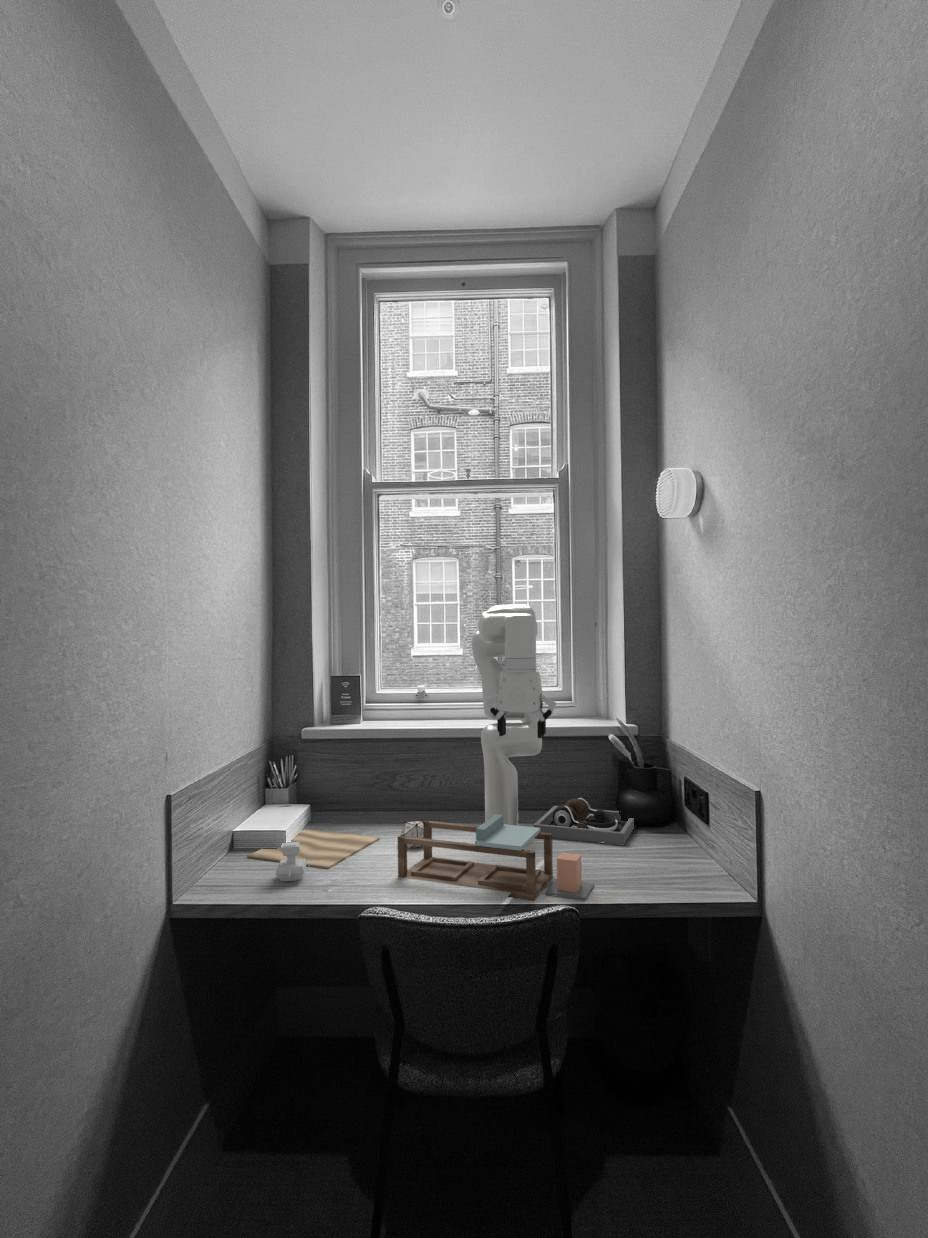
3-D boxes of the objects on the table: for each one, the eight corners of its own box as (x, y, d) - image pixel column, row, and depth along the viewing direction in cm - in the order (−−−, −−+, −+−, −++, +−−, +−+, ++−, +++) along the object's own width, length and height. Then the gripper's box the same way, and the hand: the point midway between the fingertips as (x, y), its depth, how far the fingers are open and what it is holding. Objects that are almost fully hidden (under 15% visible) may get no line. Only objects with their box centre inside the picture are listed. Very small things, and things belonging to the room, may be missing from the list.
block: (562, 883, 166) (561, 852, 166) (581, 885, 164) (581, 854, 164) (557, 889, 162) (556, 858, 162) (576, 892, 160) (576, 861, 160)
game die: (407, 864, 193) (385, 833, 195) (428, 846, 199) (407, 816, 200) (422, 855, 187) (399, 823, 188) (443, 836, 193) (421, 806, 194)
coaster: (555, 881, 169) (555, 878, 169) (594, 886, 166) (594, 883, 166) (545, 894, 161) (545, 892, 161) (585, 900, 157) (585, 897, 157)
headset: (572, 792, 223) (635, 809, 213) (569, 816, 224) (631, 834, 214) (549, 804, 208) (616, 823, 198) (546, 830, 209) (612, 851, 199)
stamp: (303, 885, 169) (303, 849, 169) (274, 886, 168) (274, 850, 168) (307, 872, 178) (307, 837, 178) (280, 873, 177) (279, 839, 177)
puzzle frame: (426, 861, 184) (426, 820, 184) (552, 877, 172) (552, 833, 172) (398, 881, 170) (397, 837, 170) (533, 901, 157) (533, 853, 157)
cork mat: (305, 830, 213) (305, 829, 213) (379, 839, 203) (379, 837, 203) (247, 857, 189) (247, 855, 189) (328, 869, 179) (328, 867, 179)
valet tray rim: (554, 816, 225) (554, 805, 225) (637, 823, 216) (636, 813, 216) (533, 836, 205) (533, 824, 205) (623, 845, 195) (623, 833, 195)
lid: (497, 827, 177) (496, 813, 177) (540, 832, 173) (540, 817, 173) (474, 845, 163) (474, 830, 163) (521, 850, 159) (520, 835, 159)
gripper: (481, 665, 174) (482, 737, 174) (551, 666, 167) (552, 740, 167) (492, 664, 181) (493, 732, 181) (559, 664, 174) (560, 735, 174)
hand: (521, 736), depth 174 cm, fingers open, 9 cm apart
